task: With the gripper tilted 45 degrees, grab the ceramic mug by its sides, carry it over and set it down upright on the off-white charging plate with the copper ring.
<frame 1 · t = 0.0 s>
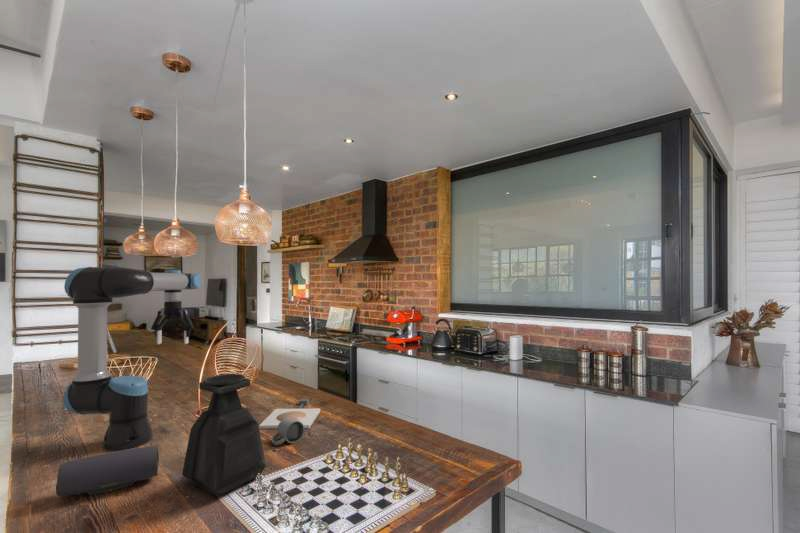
hand: (172, 343, 195), 28 cm above the table, tool pointing down, fingers open, 13 cm apart
bottle: (224, 481, 116), on the table
charging plate: (291, 419, 166), on the table
bluetooth speaker: (111, 489, 112), on the table
ceramic mug: (287, 441, 144), on the table
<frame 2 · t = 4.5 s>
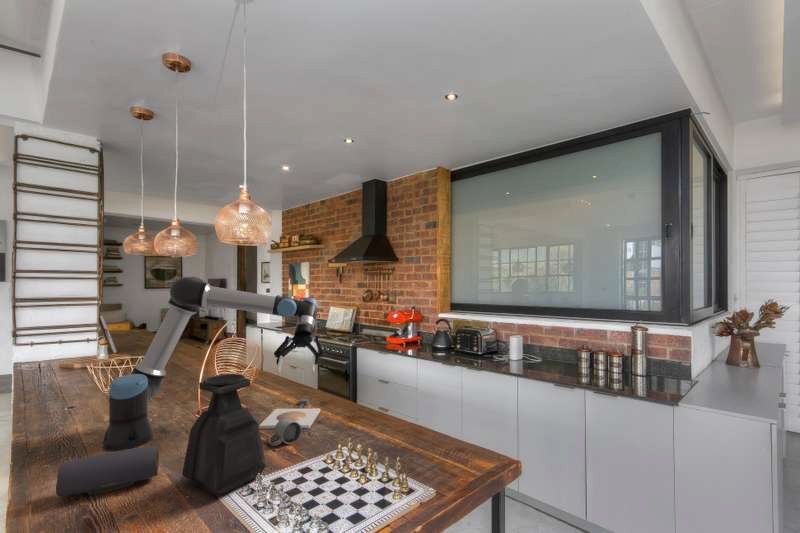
hand: (295, 371, 155), 23 cm above the table, tool tilted 45°, fingers open, 13 cm apart
ceramic mug: (284, 442, 143), on the table
everything else where it was.
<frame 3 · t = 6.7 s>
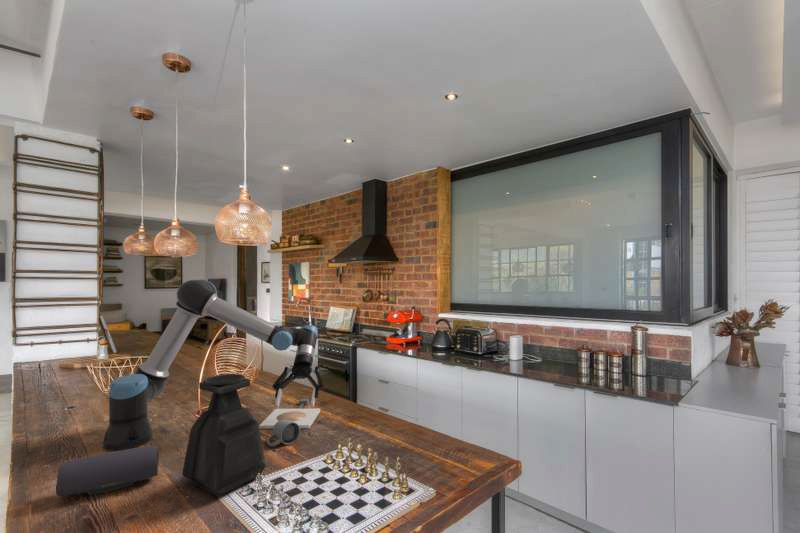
hand: (294, 405, 150), 11 cm above the table, tool tilted 45°, fingers open, 13 cm apart
nothing on the table moved.
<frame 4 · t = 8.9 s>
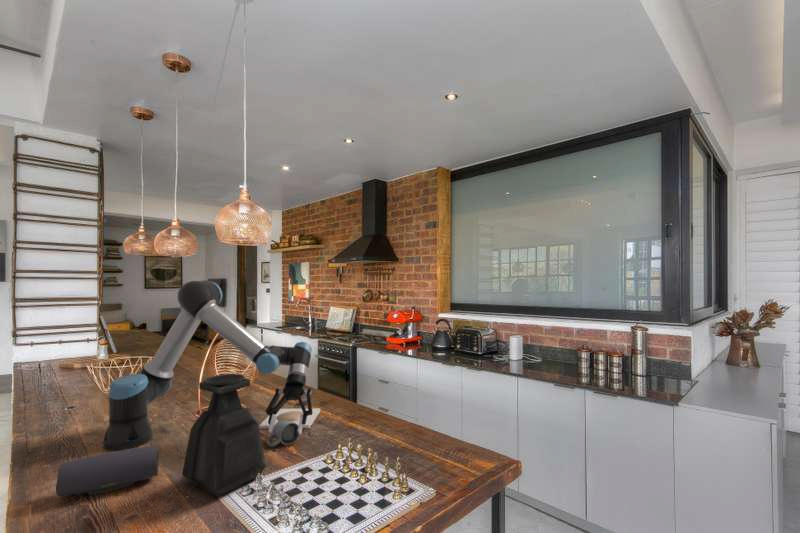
hand: (284, 433, 141), 4 cm above the table, tool tilted 45°, fingers closed on ceramic mug, 10 cm apart
ceramic mug: (282, 443, 142), on the table, touching gripper
everything else where it was.
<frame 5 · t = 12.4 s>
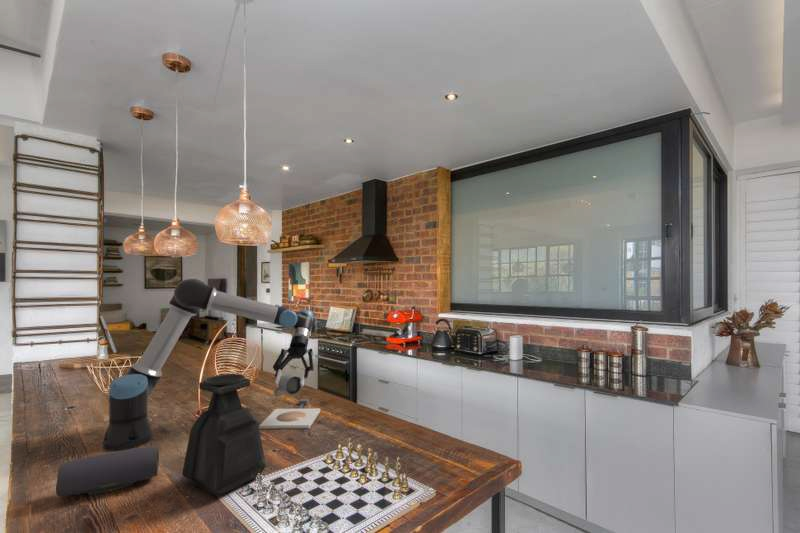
hand: (289, 384, 161), 16 cm above the table, tool tilted 45°, fingers closed on ceramic mug, 10 cm apart
ceramic mug: (287, 394, 162), point 12 cm above the table, touching gripper
everything else where it was.
when the fingers open (6 cm above the table, at t = 15.5 s): ceramic mug stays where it is, resting on charging plate.
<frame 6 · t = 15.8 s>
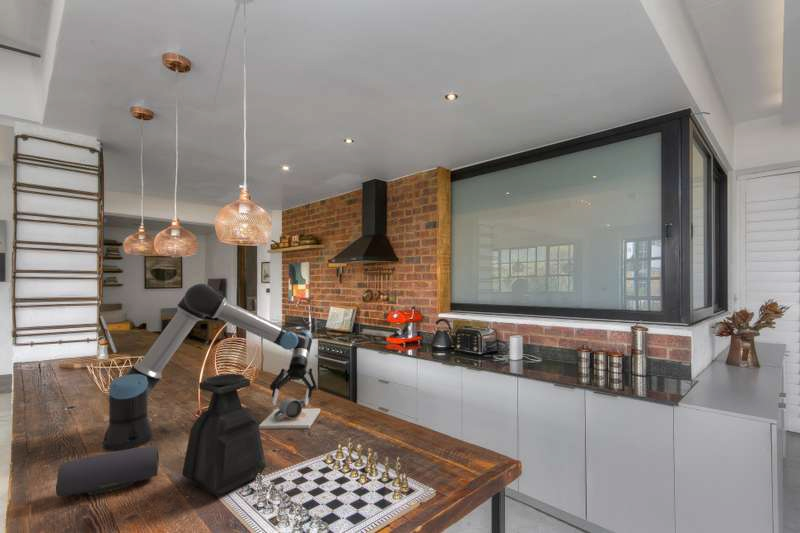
hand: (289, 404, 164), 7 cm above the table, tool tilted 45°, fingers open, 13 cm apart
ceramic mug: (287, 417, 164), point 1 cm above the table, touching charging plate
everything else where it was.
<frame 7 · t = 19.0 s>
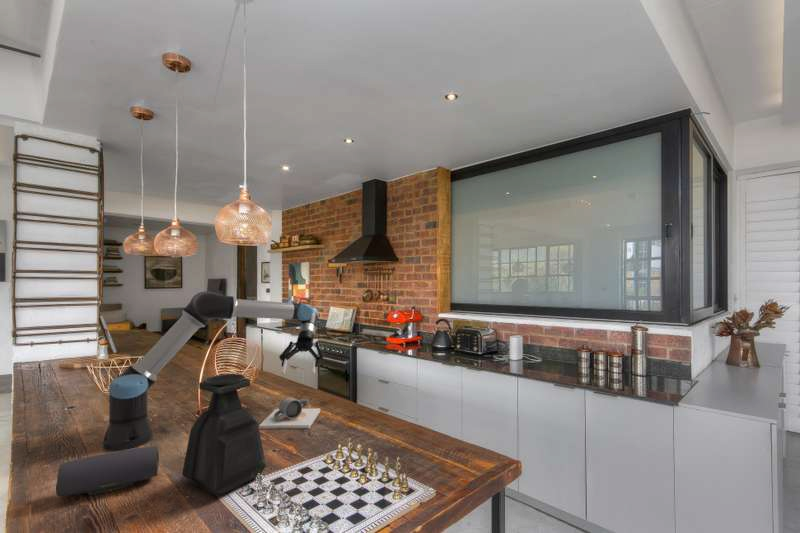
hand: (298, 372, 177), 17 cm above the table, tool tilted 45°, fingers open, 13 cm apart
nothing on the table moved.
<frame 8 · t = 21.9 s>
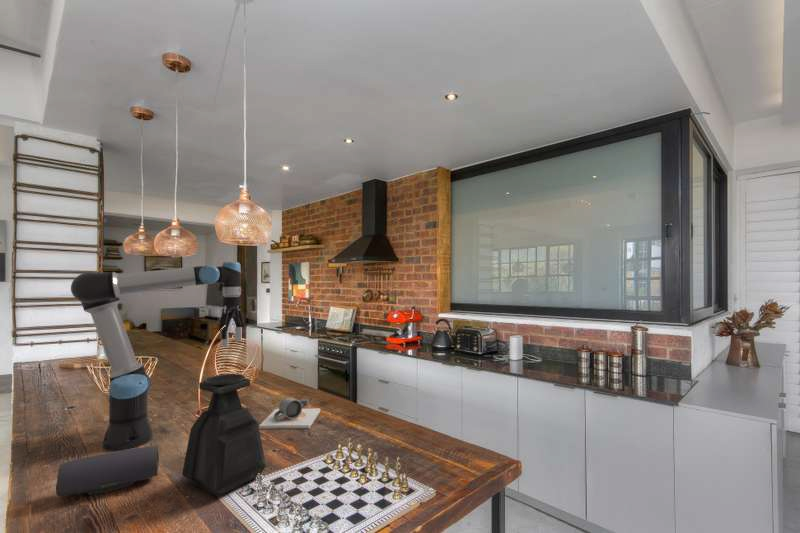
hand: (231, 343, 175), 31 cm above the table, tool pointing down, fingers open, 13 cm apart
nothing on the table moved.
at the end: ceramic mug inside the target area on the charging plate (2.1 cm from its centre), point 1.1 cm above the charging plate's base; ceramic mug tilted 2°; the gripper is holding nothing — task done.
